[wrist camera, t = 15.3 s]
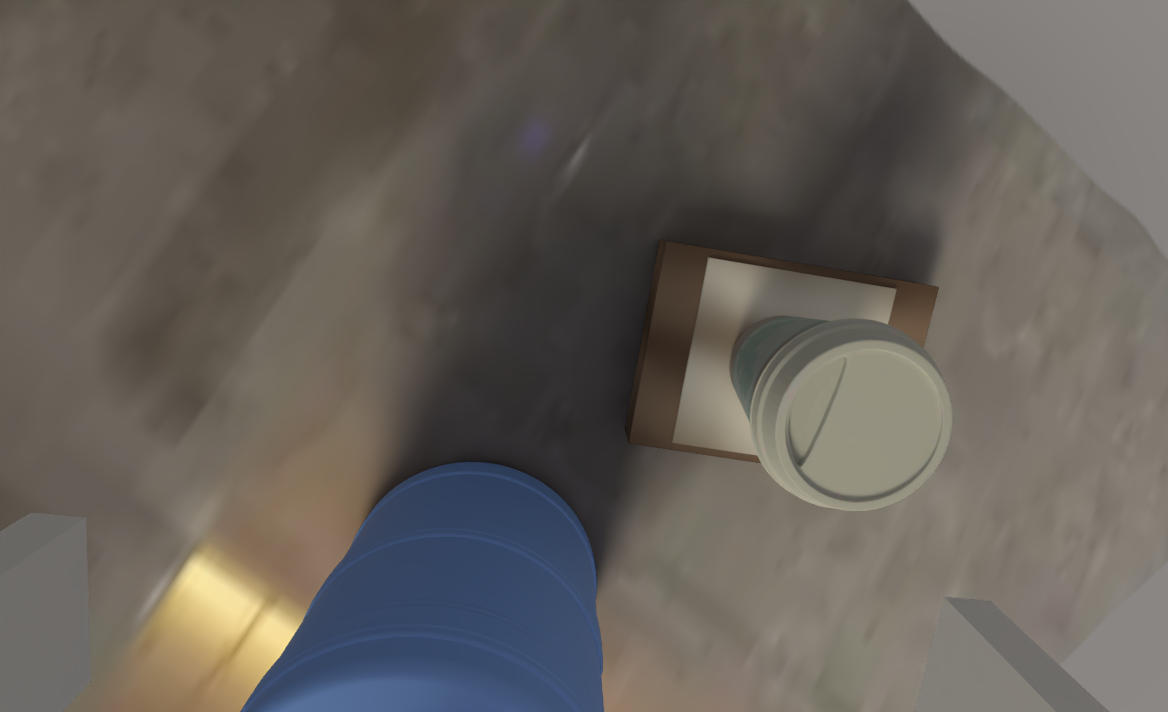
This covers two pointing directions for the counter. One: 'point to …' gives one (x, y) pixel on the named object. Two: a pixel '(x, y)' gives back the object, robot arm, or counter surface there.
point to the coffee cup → (842, 408)
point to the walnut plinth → (737, 336)
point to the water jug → (451, 606)
